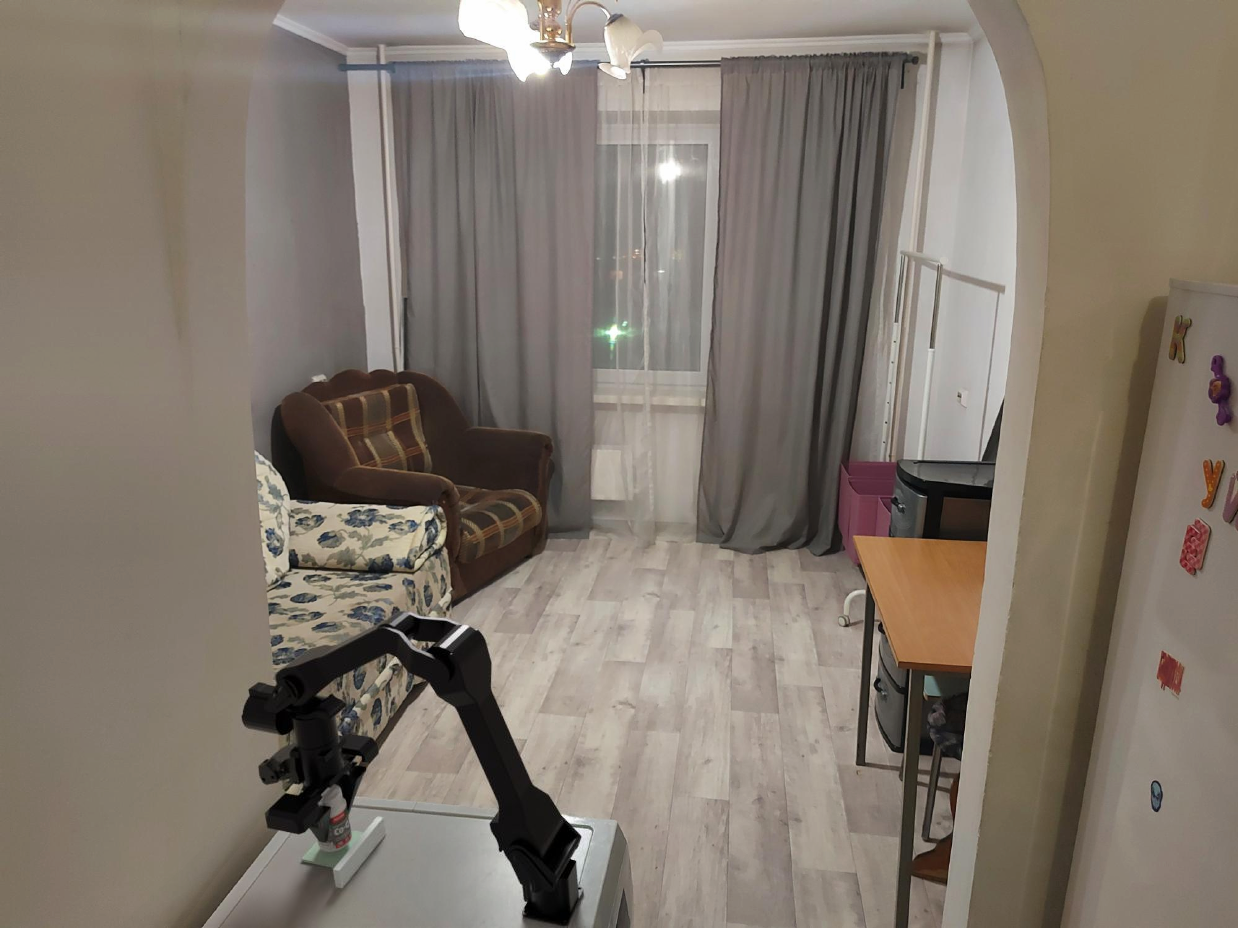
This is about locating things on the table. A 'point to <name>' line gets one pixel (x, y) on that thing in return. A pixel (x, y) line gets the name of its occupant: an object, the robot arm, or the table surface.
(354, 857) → the acrylic wall
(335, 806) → the pill bottle
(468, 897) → the table surface
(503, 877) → the table surface
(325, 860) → the coaster
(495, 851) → the table surface
